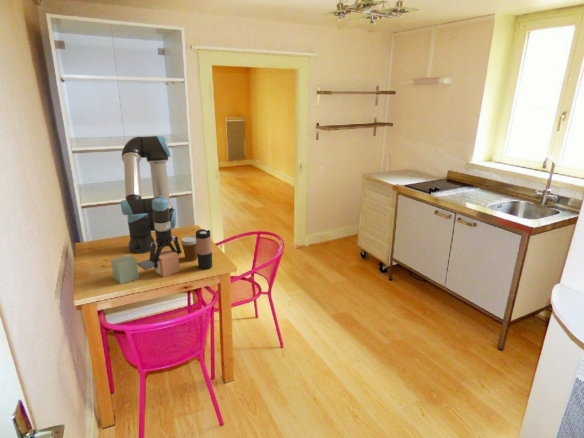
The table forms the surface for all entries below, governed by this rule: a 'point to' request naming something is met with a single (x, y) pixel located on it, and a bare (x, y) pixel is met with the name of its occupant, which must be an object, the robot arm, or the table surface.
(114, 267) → the rounded sage cube
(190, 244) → the disposable coffee cup
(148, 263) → the coaster
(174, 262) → the dusty pink cube
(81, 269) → the table surface
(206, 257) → the travel mug
